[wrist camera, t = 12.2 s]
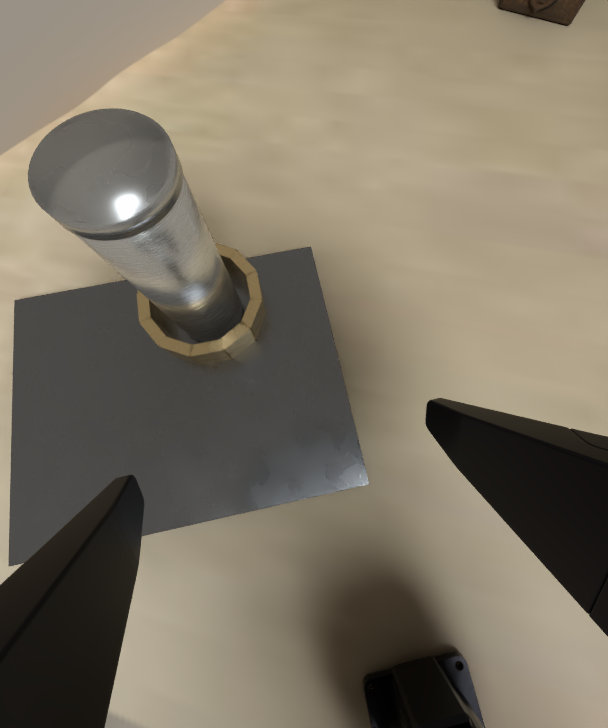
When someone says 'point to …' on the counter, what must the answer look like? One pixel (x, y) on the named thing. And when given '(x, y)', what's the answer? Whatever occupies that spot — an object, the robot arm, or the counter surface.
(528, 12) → the clothes iron
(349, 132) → the counter surface
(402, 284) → the counter surface
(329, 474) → the base
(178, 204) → the grey cylindrical piece
